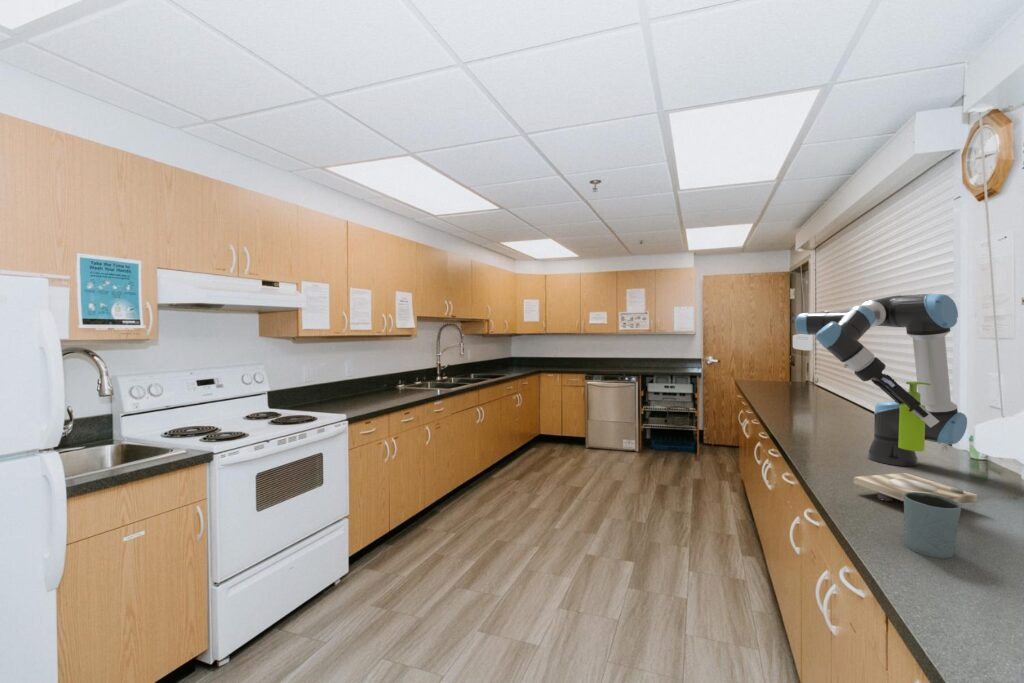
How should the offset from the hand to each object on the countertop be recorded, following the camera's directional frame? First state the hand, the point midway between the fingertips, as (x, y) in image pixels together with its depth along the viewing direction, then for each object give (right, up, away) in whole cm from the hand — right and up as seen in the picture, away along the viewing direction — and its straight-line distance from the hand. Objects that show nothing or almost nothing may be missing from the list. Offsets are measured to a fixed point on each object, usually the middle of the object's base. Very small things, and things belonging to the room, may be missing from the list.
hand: (929, 422), depth 139 cm
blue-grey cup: (-25, -26, -28) cm, 45 cm away
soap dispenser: (-3, -9, +2) cm, 9 cm away
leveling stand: (-3, -24, +2) cm, 25 cm away
